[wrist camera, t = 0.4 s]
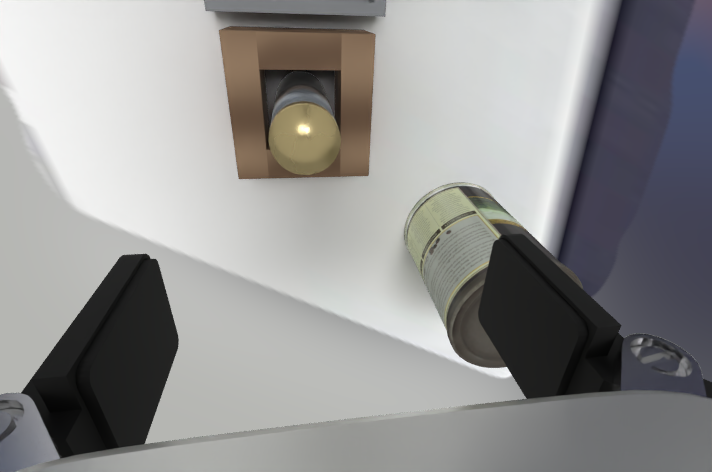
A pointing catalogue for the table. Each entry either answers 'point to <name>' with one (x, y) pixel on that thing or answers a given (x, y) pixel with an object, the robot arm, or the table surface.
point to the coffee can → (462, 260)
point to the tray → (301, 6)
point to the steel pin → (303, 125)
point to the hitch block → (298, 52)
